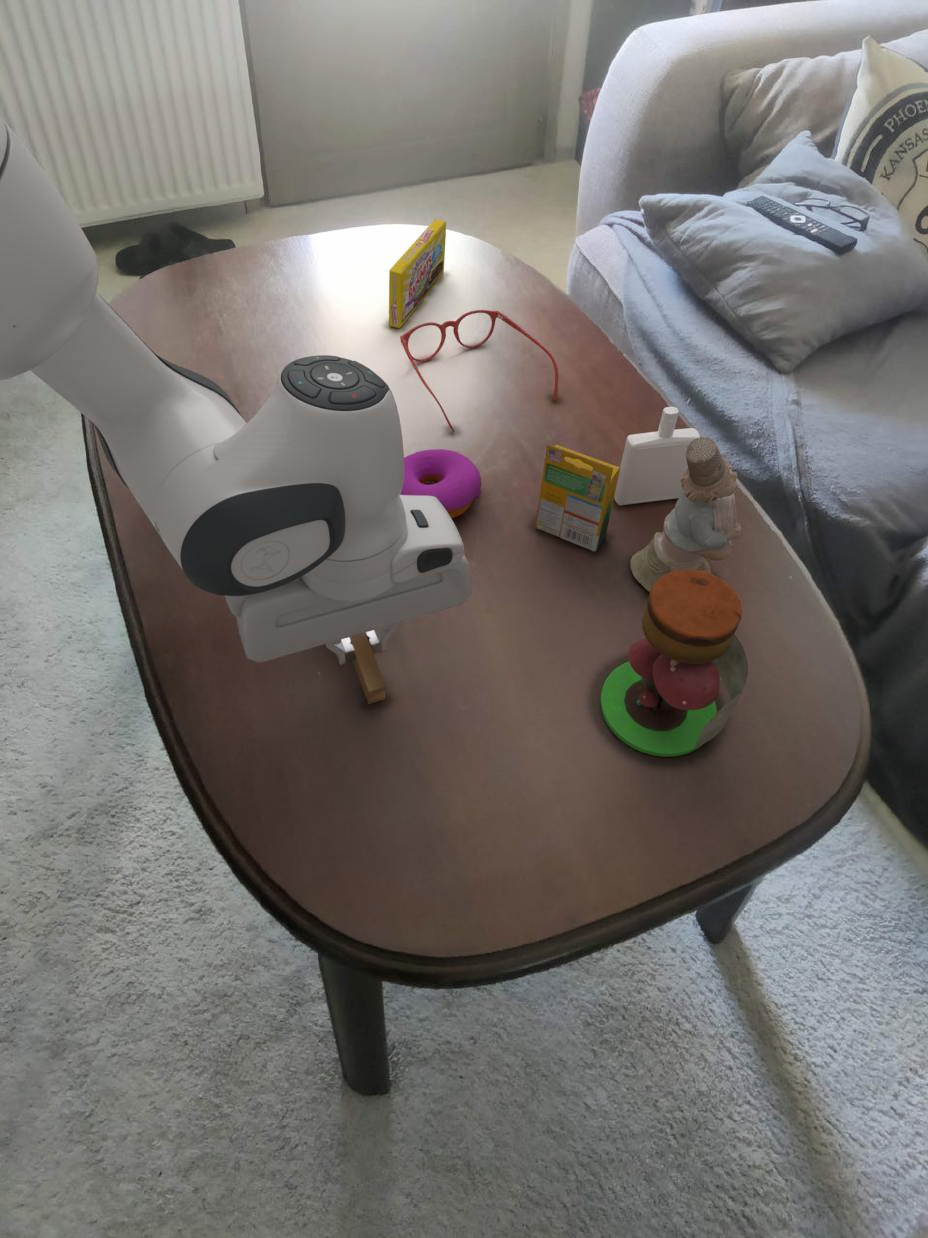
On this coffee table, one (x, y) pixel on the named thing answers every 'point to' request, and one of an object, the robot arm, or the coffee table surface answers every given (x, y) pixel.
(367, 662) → the fork
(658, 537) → the figurine
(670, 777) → the coffee table surface
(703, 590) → the toy burger
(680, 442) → the perfume bottle
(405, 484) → the donut
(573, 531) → the crayon box
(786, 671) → the coffee table surface
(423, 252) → the candy box
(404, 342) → the red eyeglasses
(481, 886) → the coffee table surface
